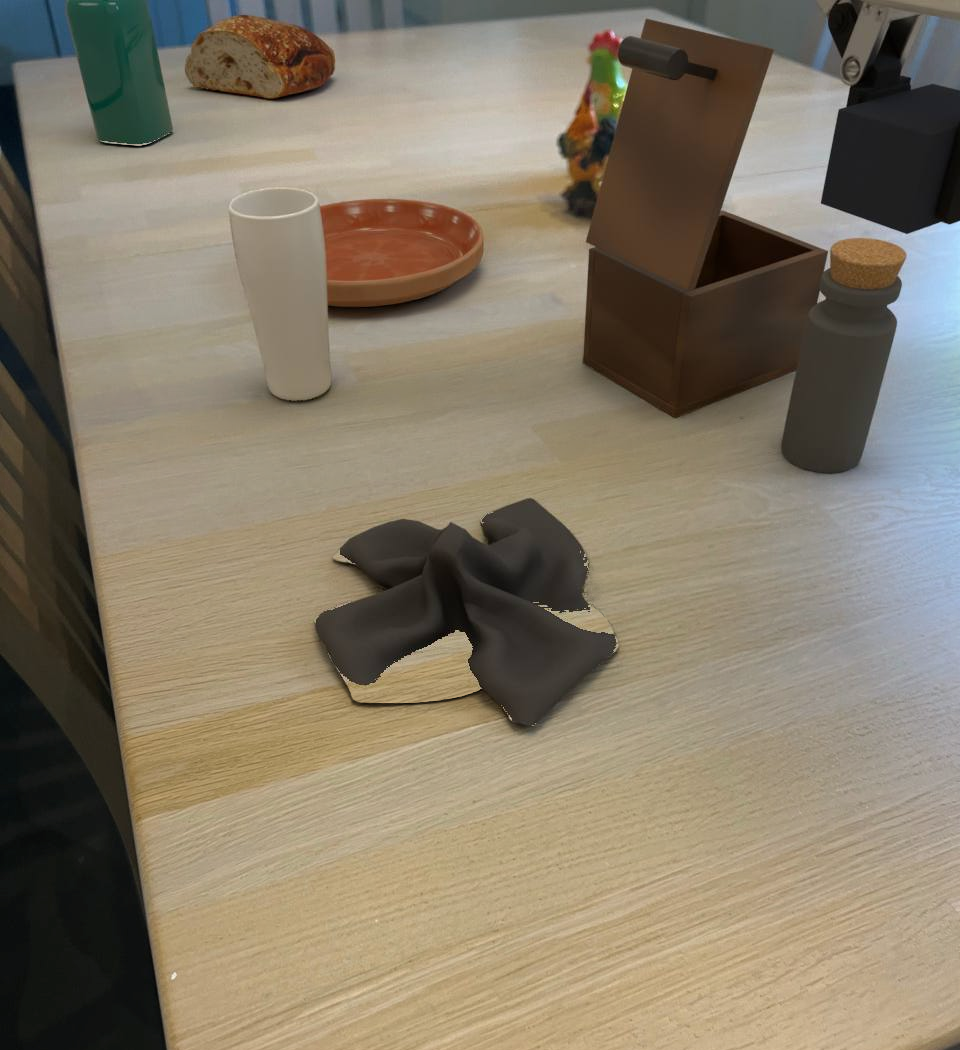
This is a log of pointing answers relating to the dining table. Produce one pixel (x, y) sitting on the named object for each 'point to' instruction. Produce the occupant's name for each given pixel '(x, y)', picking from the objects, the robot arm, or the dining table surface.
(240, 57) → the bread
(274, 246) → the drinking glass
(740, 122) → the box lid
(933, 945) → the dining table surface
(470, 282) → the dining table surface
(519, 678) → the cloth
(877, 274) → the bottle
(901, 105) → the matte black cuboid
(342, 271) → the saucer
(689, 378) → the wooden box
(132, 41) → the pitcher
